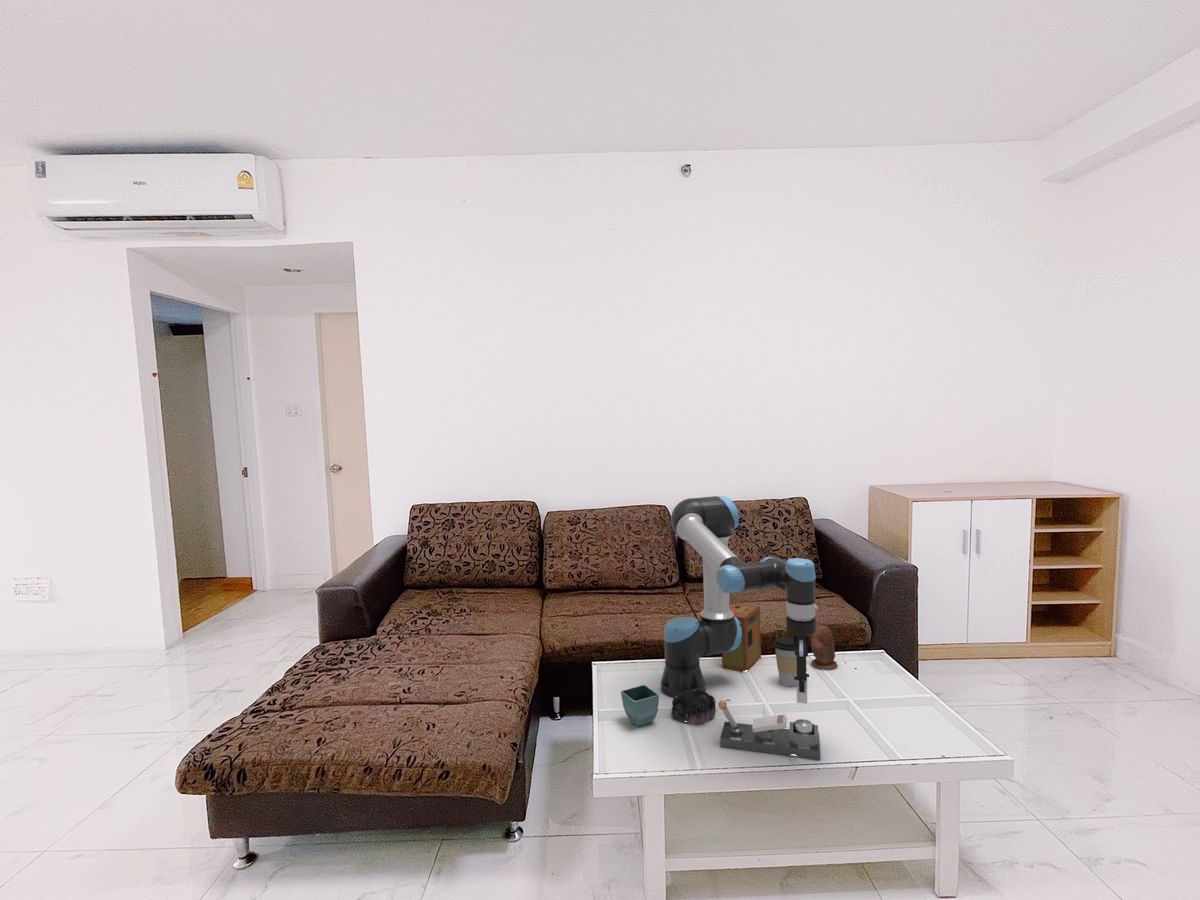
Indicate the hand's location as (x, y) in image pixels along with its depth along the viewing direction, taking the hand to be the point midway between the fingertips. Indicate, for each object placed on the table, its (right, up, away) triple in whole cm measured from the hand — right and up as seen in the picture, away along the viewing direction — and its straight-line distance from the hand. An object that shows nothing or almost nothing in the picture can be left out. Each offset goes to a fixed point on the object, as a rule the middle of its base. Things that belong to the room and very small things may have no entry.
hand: (802, 701), depth 164 cm
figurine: (+27, -11, +56) cm, 63 cm away
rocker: (-8, -7, +3) cm, 11 cm away
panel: (-8, -13, +3) cm, 15 cm away
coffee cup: (+9, -12, +42) cm, 44 cm away
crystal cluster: (-26, -13, +21) cm, 36 cm away
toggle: (-17, -10, +6) cm, 20 cm away
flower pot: (-43, -14, +18) cm, 49 cm away
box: (-2, -11, +61) cm, 62 cm away
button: (0, -10, 0) cm, 10 cm away
